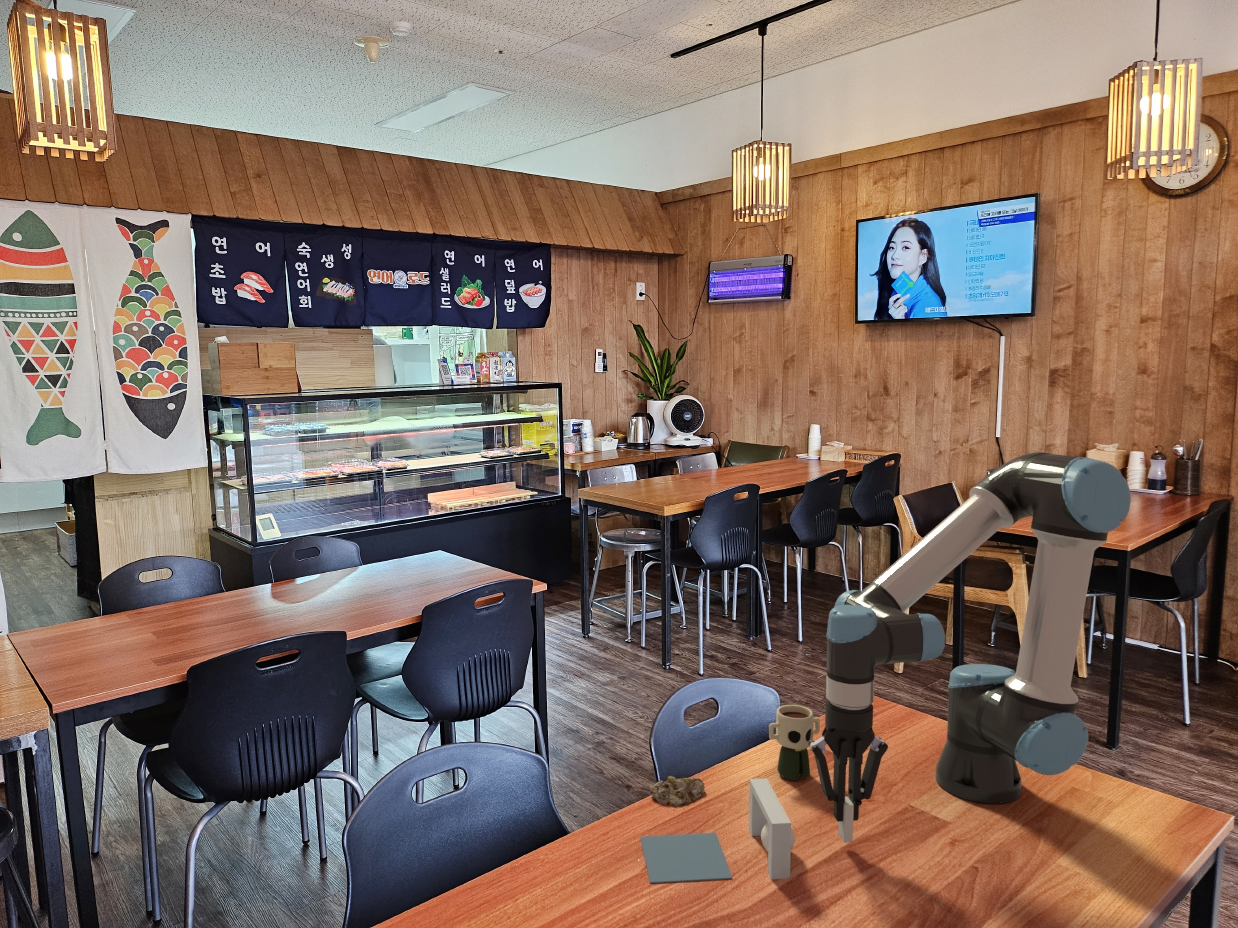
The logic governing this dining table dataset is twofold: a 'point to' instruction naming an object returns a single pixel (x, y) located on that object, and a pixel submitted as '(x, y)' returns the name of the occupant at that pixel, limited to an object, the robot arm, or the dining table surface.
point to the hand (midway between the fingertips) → (845, 837)
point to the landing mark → (684, 858)
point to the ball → (766, 833)
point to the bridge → (771, 826)
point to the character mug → (794, 739)
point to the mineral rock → (677, 790)
